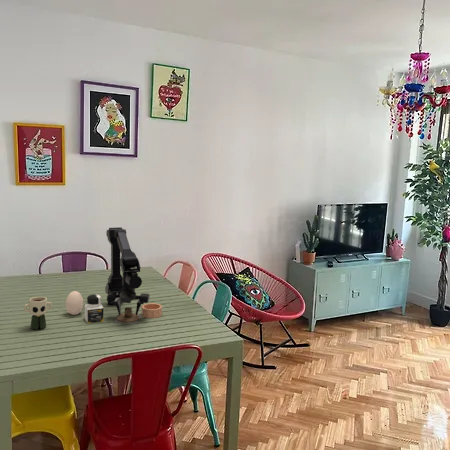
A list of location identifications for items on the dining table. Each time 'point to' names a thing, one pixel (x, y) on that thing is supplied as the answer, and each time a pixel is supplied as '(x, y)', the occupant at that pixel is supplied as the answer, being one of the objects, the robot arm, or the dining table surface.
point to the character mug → (38, 311)
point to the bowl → (151, 310)
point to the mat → (128, 322)
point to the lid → (128, 316)
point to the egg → (74, 303)
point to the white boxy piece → (94, 309)
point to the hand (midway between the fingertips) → (128, 315)
